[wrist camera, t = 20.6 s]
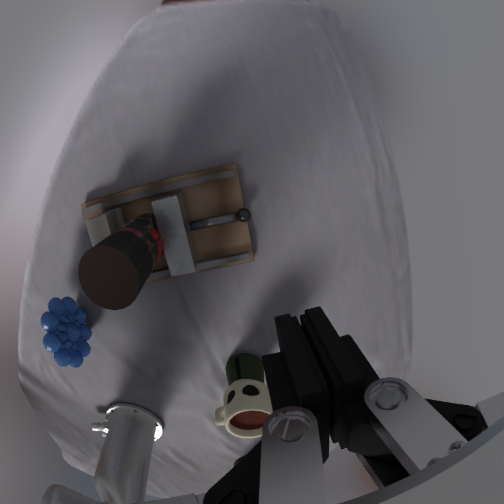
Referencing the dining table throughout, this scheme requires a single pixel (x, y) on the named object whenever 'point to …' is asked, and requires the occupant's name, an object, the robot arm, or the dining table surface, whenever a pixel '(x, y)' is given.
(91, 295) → the deodorant
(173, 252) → the sliding jaw
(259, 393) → the character mug
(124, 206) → the vise bed
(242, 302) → the dining table surface
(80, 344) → the grapes
